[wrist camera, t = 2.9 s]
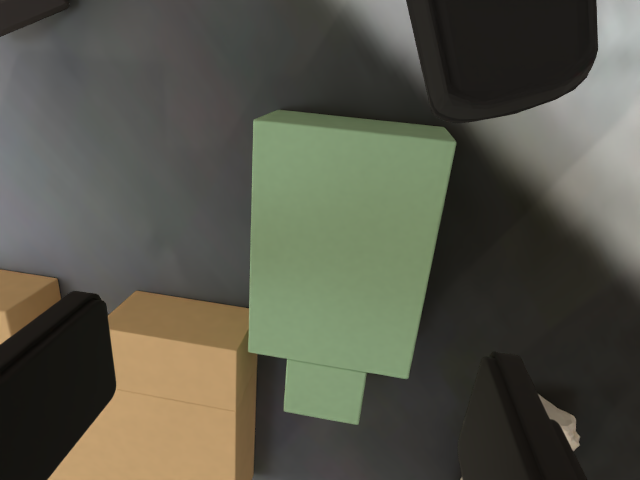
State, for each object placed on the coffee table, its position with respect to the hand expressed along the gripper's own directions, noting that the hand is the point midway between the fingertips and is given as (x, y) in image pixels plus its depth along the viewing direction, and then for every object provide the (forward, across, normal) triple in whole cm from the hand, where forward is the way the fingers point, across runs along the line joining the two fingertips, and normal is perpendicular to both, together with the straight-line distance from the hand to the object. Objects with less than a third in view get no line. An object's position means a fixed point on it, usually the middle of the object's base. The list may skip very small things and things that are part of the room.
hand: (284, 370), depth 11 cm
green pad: (+10, -1, +2) cm, 10 cm away
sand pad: (+10, +12, +11) cm, 19 cm away
